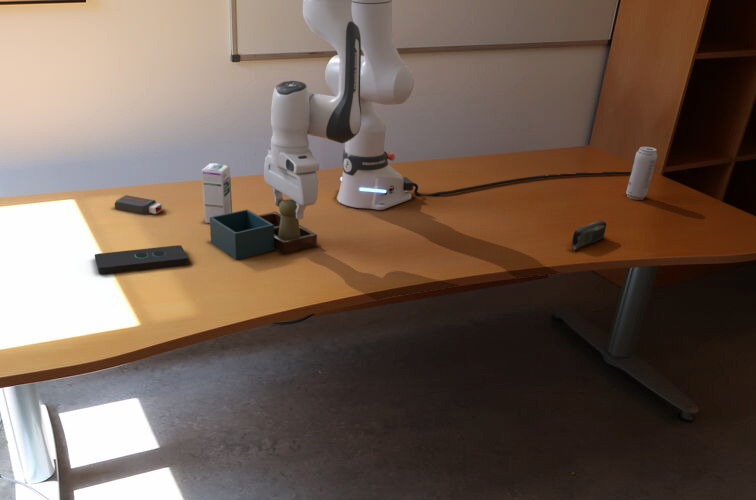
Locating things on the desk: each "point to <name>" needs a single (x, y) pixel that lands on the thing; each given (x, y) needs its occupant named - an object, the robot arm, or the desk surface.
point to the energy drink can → (641, 173)
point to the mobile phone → (588, 234)
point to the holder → (290, 245)
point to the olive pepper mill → (288, 220)
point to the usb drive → (138, 205)
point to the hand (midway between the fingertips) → (288, 211)
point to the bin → (242, 234)
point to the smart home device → (140, 259)
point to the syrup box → (216, 190)
